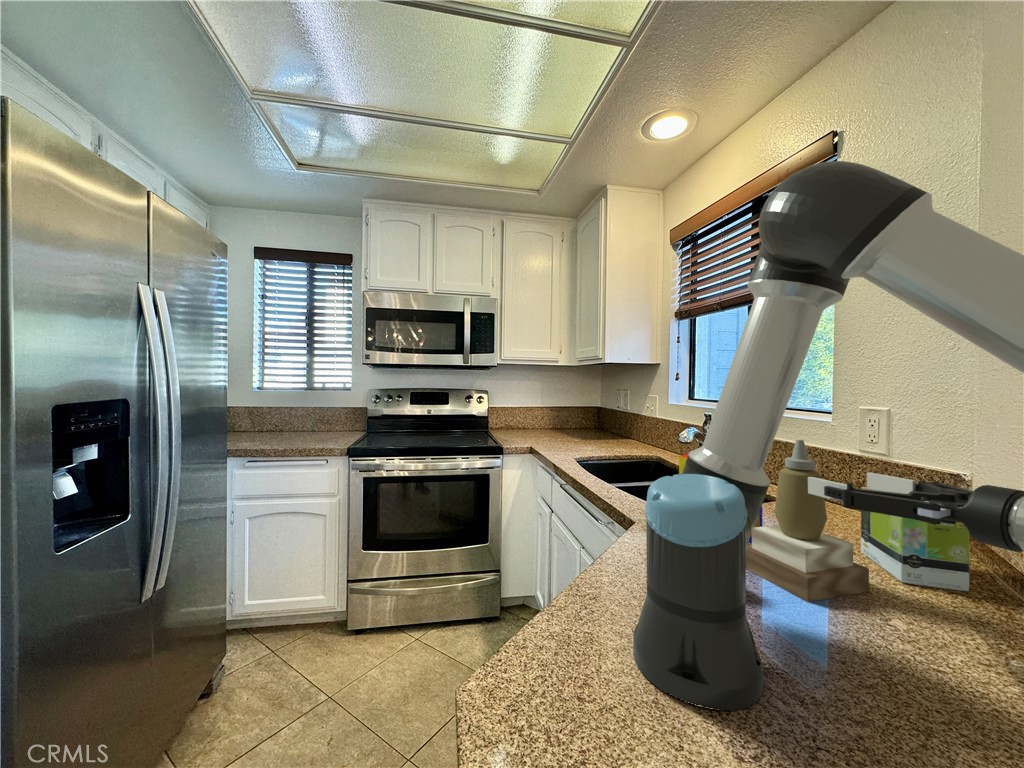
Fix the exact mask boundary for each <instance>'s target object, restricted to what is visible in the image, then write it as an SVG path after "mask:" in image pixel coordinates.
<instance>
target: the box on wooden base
mask: <svg viewBox="0 0 1024 768" xmlns="http://www.w3.org/2000/svg"><path fill="white" fill-rule="evenodd" d="M746 570H747V571H749V572H751V573H753V574H754V575H757V576H758V577H760V578H762V579H763V580H765V581H768V582H769V583H771V584H774V585H776V586H777V587H779V588H781V589H783V590H784V591H786V592H788V593H790V594H791V595H792V594H793V595H794V596H796V597H798V598H800V599H802V600H803V601H805V602H807V603H809V602H814V601H820V600H821V601H822V600H826V599H831V598H838V597H844V596H850V595H855V594H862V593H867V592H870V569H869V567H865V566H863V565H862V564H858V563H856V562H854V543H853V542H850V541H848V540H845V539H842V538H838V537H836V536H833V535H830V534H827V533H824V532H822V533H821V535H820V538H819V539H817V540H805V539H799V538H794V537H791V536H788V535H786V534H784V533H783V532H782V531H781V529H780V526H779V524H777V525H775V524H774V525H768V526H767V525H766V526H765V525H764V526H762V527H755V528H753V530H752V542H751V543H750V544H749V545H748V547H747V550H746Z"/></svg>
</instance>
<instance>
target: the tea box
mask: <svg viewBox="0 0 1024 768" xmlns="http://www.w3.org/2000/svg"><path fill="white" fill-rule="evenodd" d="M860 489H867V490H874V489H869V488H867V486H861V488H860ZM876 491H879V490H876ZM860 551H861V553H862V554H864V555H865V556H866V557H868V558H869V559H870V560H871V561H873V562H874V563H876V564H877V565H878V566H879V567H881V568H882V569H883V570H885V571H887V572H888V573H889V574H890V575H891V576H893V577H894V578H896V579H897V580H898V581H900V582H901V583H905V584H910V585H916V586H922V587H923V586H924V587H931V588H939V589H946V590H951V591H960V592H969V591H970V533H969V530H968V529H967V527H966V526H965V525H964V524H963V523H962V522H956V524H948V523H942V522H941V524H937V525H934V524H931V523H927V522H923V521H919V520H915V519H909V518H903V517H897V516H892V515H886V514H880V513H874V512H868V511H863V510H860Z"/></svg>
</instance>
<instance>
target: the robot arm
mask: <svg viewBox="0 0 1024 768" xmlns="http://www.w3.org/2000/svg"><path fill="white" fill-rule="evenodd" d="M758 233H759V234H758V235H759V239H760V242H761V243H760V246H759V250H758V253H757V255H756V259H755V261H754V263H753V264H754V265H753V268H752V270H751V273H750V276H749V278H748V282H747V285H746V286H747V288H748V289H749V291H750V293H752V295H753V298H754V299H753V301H752V304H751V308H750V310H749V313H748V316H747V317H746V322H745V325H744V327H743V330H742V333H741V335H740V338H739V341H738V344H737V347H736V351H735V353H734V356H733V358H732V361H731V363H730V367H729V370H728V373H727V375H726V378H725V380H724V384H723V386H722V390H721V393H720V394H719V395H720V396H719V398H718V400H717V404H716V407H715V409H714V413H713V415H712V418H711V421H710V423H709V426H708V430H707V432H706V435H705V437H704V441H703V444H702V445H701V446H700V447H699V448H696V449H693V450H691V451H689V452H688V453H687V454H688V457H687V460H686V463H685V466H684V468H683V471H682V474H679V473H678V474H673V475H672V476H670V475H665V476H662V477H659V478H658V479H656V480H654V481H653V482H652V483H651V484H650V485H649V487H648V490H647V494H646V495H647V496H646V502H645V506H644V507H645V508H644V515H645V518H646V521H645V522H646V525H645V526H646V528H645V529H646V532H645V533H646V595H645V596H646V597H645V600H644V603H643V605H642V607H641V612H640V615H639V619H638V621H637V623H636V626H635V628H634V631H633V634H632V636H633V639H632V640H633V641H632V643H633V645H632V646H633V647H632V649H633V650H632V651H633V652H632V653H633V654H632V655H633V659H634V662H635V664H636V666H637V668H638V669H639V671H640V672H641V674H642V675H643V676H644V677H645V678H646V679H647V680H648V681H649V682H650V683H651V684H653V685H654V686H655V687H656V688H657V689H659V690H660V691H662V690H663V691H662V692H664V693H665V692H666V693H665V694H667V693H669V694H671V695H672V696H674V697H677V698H679V699H682V700H683V701H686V702H690V703H693V704H696V705H701V706H703V707H708V708H713V709H717V710H716V711H721V710H730V711H738V710H742V709H747V708H748V707H750V706H753V705H754V704H756V703H757V702H758V701H759V700H760V698H761V696H762V694H763V691H764V668H763V663H762V660H761V657H760V654H759V652H758V649H757V646H756V642H755V639H754V635H753V633H752V629H751V627H750V624H749V621H748V619H747V610H746V609H747V607H746V605H747V603H746V601H747V600H746V599H747V597H746V594H747V592H746V591H747V588H746V587H747V585H746V584H747V583H746V582H747V581H746V580H747V575H746V574H747V573H746V572H747V571H746V570H747V569H746V550H747V547H748V543H749V540H750V536H751V533H752V530H753V528H754V526H755V524H756V521H757V518H758V514H759V511H760V509H761V506H762V507H763V503H764V500H765V498H766V495H767V493H768V490H769V488H770V485H771V480H770V479H769V476H768V475H767V473H766V471H765V469H764V468H765V467H764V466H765V464H766V461H767V458H768V456H769V454H770V453H769V452H770V451H771V448H772V446H773V443H774V440H775V438H776V434H777V432H778V431H779V428H780V424H781V422H782V420H783V417H784V414H785V411H786V410H787V406H788V405H789V404H788V403H789V401H790V398H791V397H792V393H793V392H794V391H793V390H794V388H795V386H796V383H797V380H798V378H799V376H800V374H801V370H802V367H803V365H804V362H805V360H806V357H807V354H808V351H809V349H810V346H811V344H812V341H813V338H814V336H815V333H816V331H817V328H818V325H819V324H820V321H821V319H822V315H823V313H824V311H825V310H826V309H828V308H829V307H831V306H833V305H835V304H837V303H839V302H841V301H842V300H843V298H844V295H845V293H846V291H847V288H848V286H849V282H850V280H851V279H852V278H853V279H854V278H863V279H864V280H867V281H868V282H870V283H871V284H872V285H875V286H877V287H878V288H880V289H882V290H884V291H885V292H887V293H889V294H890V295H892V296H894V297H895V298H897V299H898V300H900V301H902V302H904V303H905V304H907V305H909V306H910V307H911V308H914V309H915V310H916V311H918V312H920V313H922V314H923V315H925V316H927V317H929V318H931V320H934V321H935V322H937V323H938V324H940V325H942V326H943V327H945V328H947V329H948V330H950V331H952V332H954V333H955V334H957V335H959V336H960V337H962V338H963V339H965V340H967V341H969V342H970V343H972V344H974V345H976V346H977V347H979V348H981V349H982V350H984V351H985V352H987V353H989V354H991V355H993V357H996V358H997V359H998V360H1000V361H1001V362H1004V363H1006V364H1007V365H1008V366H1011V367H1012V368H1014V369H1015V370H1017V371H1019V372H1020V373H1022V374H1024V254H1022V253H1020V252H1018V251H1017V250H1015V249H1012V248H1010V247H1008V246H1006V245H1004V244H1002V243H1000V242H999V241H996V240H994V239H991V238H989V237H987V236H985V235H984V234H982V233H980V232H977V231H975V230H974V229H971V228H970V227H968V226H965V225H964V224H961V223H959V222H957V221H955V220H953V219H951V218H949V217H948V216H945V215H943V214H941V213H939V212H937V211H935V210H934V208H933V195H932V193H929V192H928V191H925V190H923V189H921V188H919V187H916V186H915V185H912V184H910V183H908V182H907V181H905V180H903V179H901V178H898V177H895V176H893V175H891V174H888V173H886V172H883V171H881V170H879V169H876V168H874V167H870V166H868V165H865V164H862V163H857V162H851V161H845V160H832V161H823V162H820V163H815V164H812V165H808V166H806V167H804V168H802V169H800V170H797V171H795V172H794V173H792V174H791V175H789V176H788V177H786V178H785V179H784V180H782V181H781V182H780V183H779V184H778V185H777V186H776V187H775V188H774V190H772V192H771V193H770V195H769V196H768V198H767V199H766V201H765V203H764V204H763V207H762V209H761V211H760V214H759V218H758ZM866 487H867V488H869V489H874V490H867V489H861V488H855V486H854V484H853V483H852V482H846V483H841V482H837V481H831V480H827V479H824V478H822V479H819V478H814V477H808V493H809V494H813V495H817V496H820V497H824V499H828V500H833V501H836V502H837V501H838V502H841V503H842V507H843V508H845V509H853V510H857V511H858V510H859V511H861V510H863V511H868V512H874V513H880V514H886V515H892V516H897V517H903V518H909V519H915V520H919V521H923V522H927V523H931V524H934V525H937V524H941V522H942V523H948V524H956V522H962V523H963V524H964V525H965V526H966V527H967V529H968V530H969V535H970V536H971V537H972V538H973V539H974V540H976V541H977V542H979V543H981V544H985V545H988V546H991V547H995V548H999V549H1003V550H1007V551H1010V552H1013V553H1022V552H1024V490H1021V489H1016V488H1009V487H1003V486H998V485H991V484H985V485H981V486H978V487H975V489H974V490H970V489H966V488H962V487H958V486H955V485H952V484H948V483H944V482H940V481H930V482H928V481H924V480H921V481H920V480H919V481H916V480H914V479H908V478H903V477H897V476H892V475H886V474H881V473H875V472H866ZM876 490H879V491H876ZM669 694H668V695H669ZM672 696H671V697H672ZM674 697H673V698H674ZM683 701H682V702H683ZM686 702H685V703H686ZM718 709H719V710H718Z"/></svg>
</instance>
